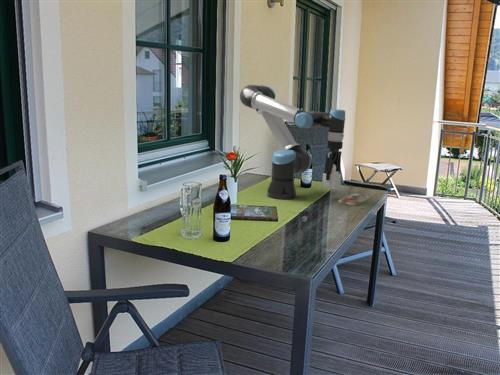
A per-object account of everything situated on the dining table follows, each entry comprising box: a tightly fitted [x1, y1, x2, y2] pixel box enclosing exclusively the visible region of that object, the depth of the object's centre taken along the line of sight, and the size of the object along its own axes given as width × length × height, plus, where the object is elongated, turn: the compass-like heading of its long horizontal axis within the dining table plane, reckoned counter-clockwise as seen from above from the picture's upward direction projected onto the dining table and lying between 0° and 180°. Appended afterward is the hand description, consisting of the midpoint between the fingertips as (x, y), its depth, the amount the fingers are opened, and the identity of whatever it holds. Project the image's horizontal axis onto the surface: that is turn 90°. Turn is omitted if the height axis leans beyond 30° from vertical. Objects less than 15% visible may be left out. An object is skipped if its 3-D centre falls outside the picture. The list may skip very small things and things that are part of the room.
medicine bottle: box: [321, 164, 342, 190], centre depth 251 cm, size 7×7×12 cm
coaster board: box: [337, 193, 370, 207], centre depth 253 cm, size 9×20×2 cm, turn 147°
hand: (331, 185), depth 252 cm, fingers closed on medicine bottle, 7 cm apart
